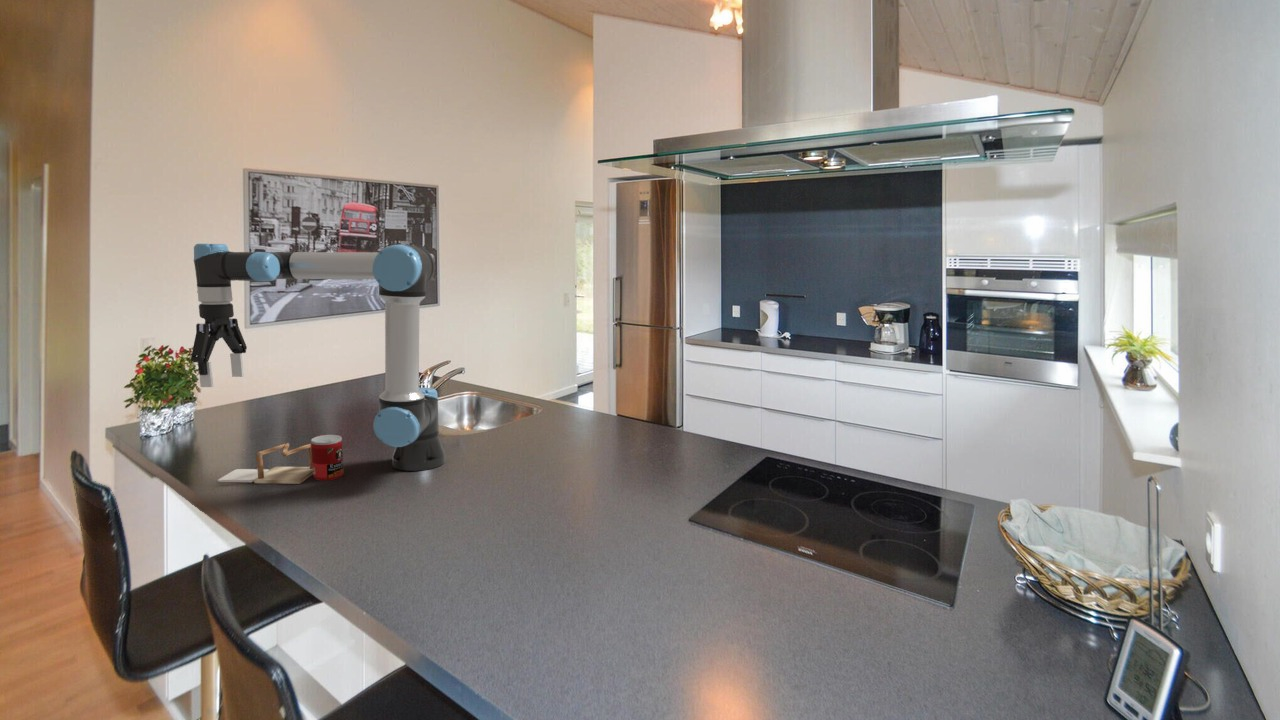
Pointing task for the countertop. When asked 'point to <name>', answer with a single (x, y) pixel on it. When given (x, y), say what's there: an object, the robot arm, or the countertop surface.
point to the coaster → (241, 475)
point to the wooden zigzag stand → (283, 468)
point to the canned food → (327, 457)
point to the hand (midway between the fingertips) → (223, 381)
